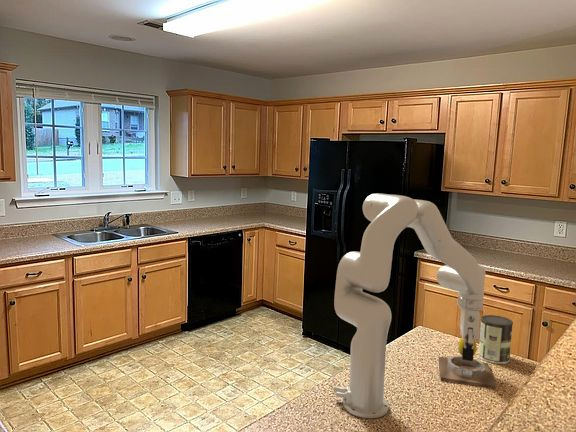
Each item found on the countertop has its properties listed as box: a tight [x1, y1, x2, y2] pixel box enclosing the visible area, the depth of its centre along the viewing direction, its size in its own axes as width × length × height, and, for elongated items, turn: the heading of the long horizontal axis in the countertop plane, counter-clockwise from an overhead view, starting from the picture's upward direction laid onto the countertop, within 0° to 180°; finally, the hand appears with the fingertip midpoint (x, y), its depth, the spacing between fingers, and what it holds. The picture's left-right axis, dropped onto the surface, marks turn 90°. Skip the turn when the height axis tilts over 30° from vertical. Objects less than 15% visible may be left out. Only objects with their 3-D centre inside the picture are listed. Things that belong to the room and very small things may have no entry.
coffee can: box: [478, 314, 514, 365], centre depth 157 cm, size 10×10×14 cm
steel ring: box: [447, 354, 485, 378], centre depth 146 cm, size 11×11×2 cm
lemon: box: [457, 337, 478, 357], centre depth 145 cm, size 6×6×8 cm
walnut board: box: [437, 356, 497, 390], centre depth 146 cm, size 16×16×1 cm
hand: (466, 355), depth 145 cm, fingers closed on lemon, 5 cm apart
